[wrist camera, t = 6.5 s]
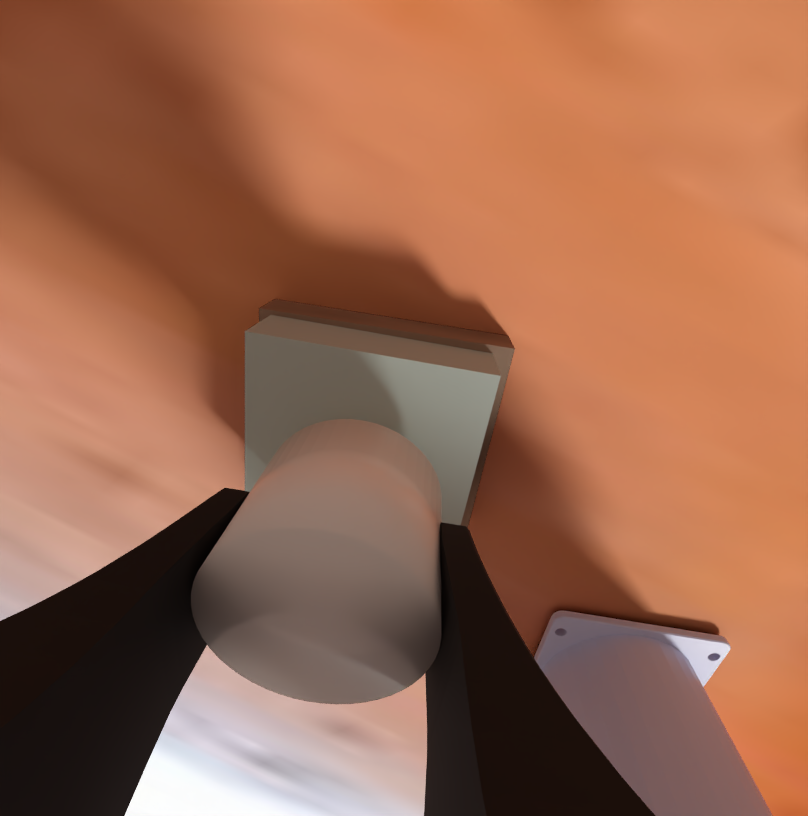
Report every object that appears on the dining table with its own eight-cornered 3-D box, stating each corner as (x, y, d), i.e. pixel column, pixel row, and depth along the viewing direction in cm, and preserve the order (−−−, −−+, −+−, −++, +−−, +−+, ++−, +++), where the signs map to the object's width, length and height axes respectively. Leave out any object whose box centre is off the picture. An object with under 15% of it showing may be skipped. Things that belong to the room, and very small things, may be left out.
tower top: (448, 528, 16) (449, 567, 15) (266, 496, 16) (244, 531, 15) (492, 353, 14) (500, 376, 12) (270, 314, 14) (244, 331, 12)
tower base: (461, 510, 19) (463, 544, 17) (277, 481, 19) (260, 511, 17) (506, 331, 15) (514, 348, 13) (280, 295, 15) (259, 308, 13)
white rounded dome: (424, 575, 13) (417, 720, 9) (265, 547, 13) (197, 681, 9) (458, 437, 11) (466, 555, 7) (269, 403, 11) (182, 505, 7)
